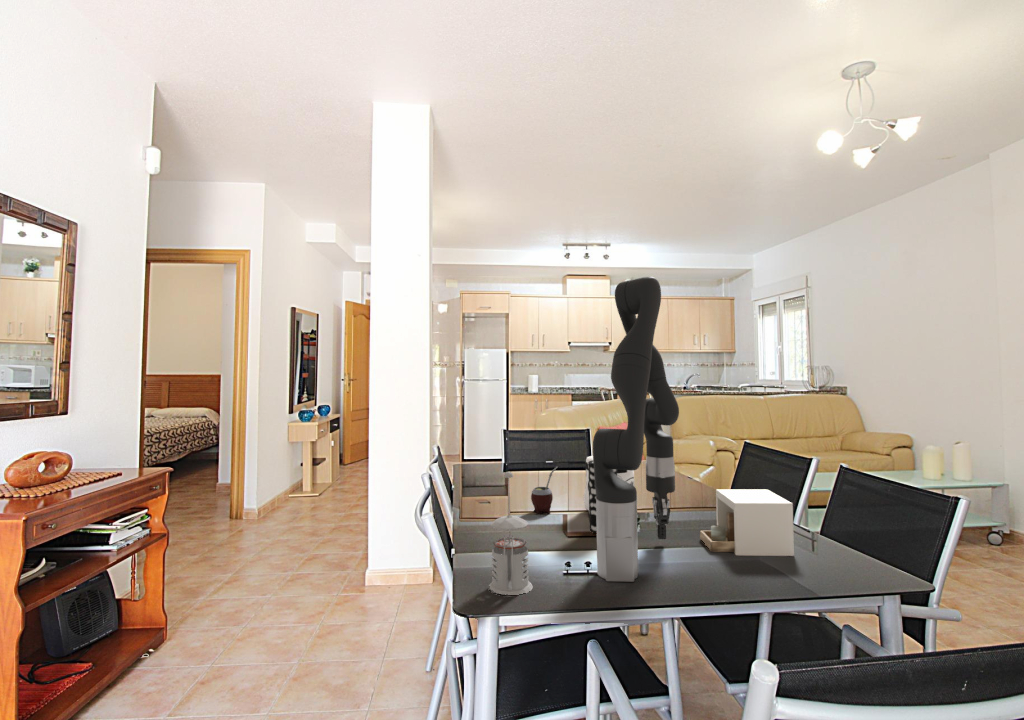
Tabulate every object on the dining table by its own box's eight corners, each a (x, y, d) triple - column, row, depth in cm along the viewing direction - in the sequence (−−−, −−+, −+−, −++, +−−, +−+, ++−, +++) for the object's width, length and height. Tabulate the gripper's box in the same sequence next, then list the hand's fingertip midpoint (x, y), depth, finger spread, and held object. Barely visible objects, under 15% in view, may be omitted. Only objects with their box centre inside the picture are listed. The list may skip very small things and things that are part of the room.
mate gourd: (527, 513, 180) (526, 467, 180) (540, 508, 186) (539, 464, 187) (546, 516, 176) (545, 469, 176) (559, 511, 182) (558, 466, 182)
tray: (711, 551, 140) (710, 518, 140) (700, 539, 150) (699, 508, 150) (775, 552, 139) (774, 518, 139) (760, 540, 149) (759, 508, 149)
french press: (533, 578, 123) (531, 467, 124) (533, 599, 112) (530, 477, 112) (489, 578, 124) (488, 467, 124) (485, 599, 112) (483, 477, 113)
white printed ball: (642, 520, 170) (641, 462, 170) (586, 520, 170) (585, 462, 171) (632, 506, 187) (631, 454, 187) (581, 506, 188) (580, 454, 188)
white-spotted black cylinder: (617, 527, 163) (615, 459, 163) (619, 535, 154) (618, 464, 155) (588, 526, 164) (587, 459, 164) (590, 535, 155) (588, 464, 156)
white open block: (794, 555, 136) (792, 503, 136) (736, 555, 137) (734, 503, 137) (768, 536, 152) (767, 489, 152) (717, 536, 153) (715, 489, 153)
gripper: (642, 468, 153) (643, 531, 153) (650, 477, 140) (651, 545, 139) (669, 468, 152) (670, 531, 152) (680, 477, 139) (681, 546, 139)
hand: (661, 538), depth 146 cm, fingers closed
